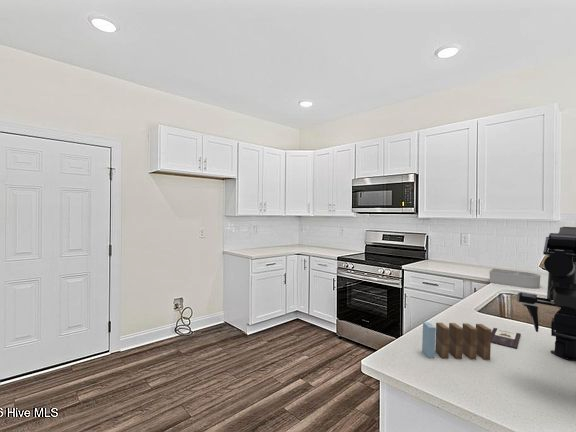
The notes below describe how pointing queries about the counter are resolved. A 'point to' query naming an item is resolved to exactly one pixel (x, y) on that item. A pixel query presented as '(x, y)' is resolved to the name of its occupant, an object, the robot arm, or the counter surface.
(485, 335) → the domino
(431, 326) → the domino
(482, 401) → the counter surface
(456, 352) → the domino
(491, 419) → the counter surface
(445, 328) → the domino
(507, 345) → the chocolate bar
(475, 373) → the counter surface
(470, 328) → the domino
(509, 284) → the gray rectangular block
